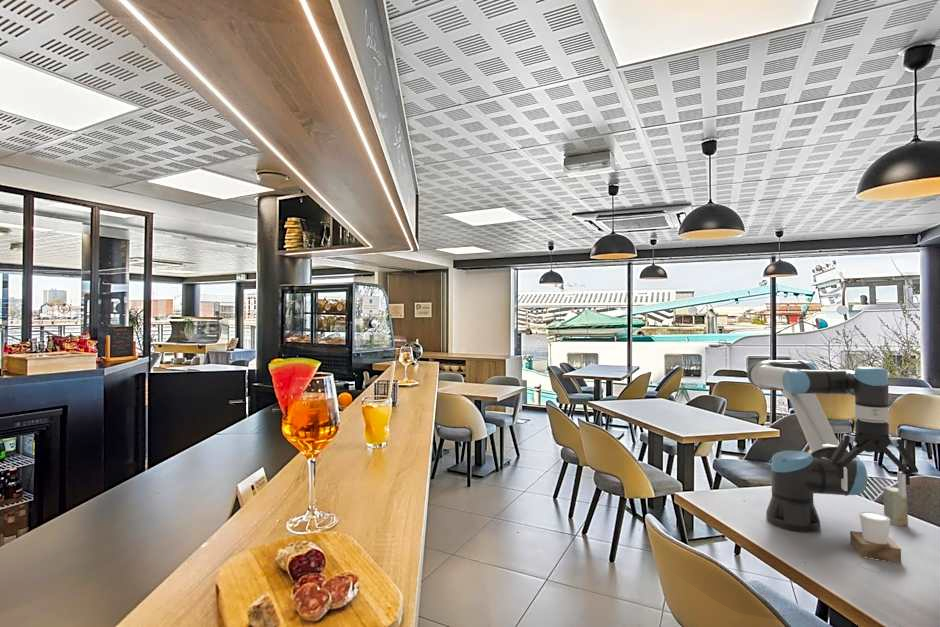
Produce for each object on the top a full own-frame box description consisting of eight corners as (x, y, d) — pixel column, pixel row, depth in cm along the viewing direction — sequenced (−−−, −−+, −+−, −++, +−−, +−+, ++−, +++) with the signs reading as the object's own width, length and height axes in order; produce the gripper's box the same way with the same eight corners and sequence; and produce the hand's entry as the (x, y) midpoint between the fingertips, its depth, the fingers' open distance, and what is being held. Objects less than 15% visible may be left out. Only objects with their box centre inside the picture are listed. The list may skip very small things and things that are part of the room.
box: (908, 526, 158) (907, 492, 159) (893, 525, 159) (892, 491, 159) (897, 519, 163) (897, 487, 164) (883, 518, 164) (882, 486, 165)
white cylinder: (853, 535, 143) (853, 511, 143) (875, 534, 144) (874, 510, 144) (875, 546, 136) (874, 521, 136) (897, 544, 137) (896, 520, 137)
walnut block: (861, 557, 138) (861, 543, 138) (850, 544, 146) (850, 530, 146) (901, 563, 134) (900, 549, 134) (887, 549, 143) (887, 535, 143)
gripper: (824, 419, 142) (825, 491, 142) (933, 426, 133) (934, 503, 133) (817, 414, 149) (817, 483, 149) (919, 420, 140) (920, 493, 140)
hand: (872, 492), depth 141 cm, fingers open, 13 cm apart
